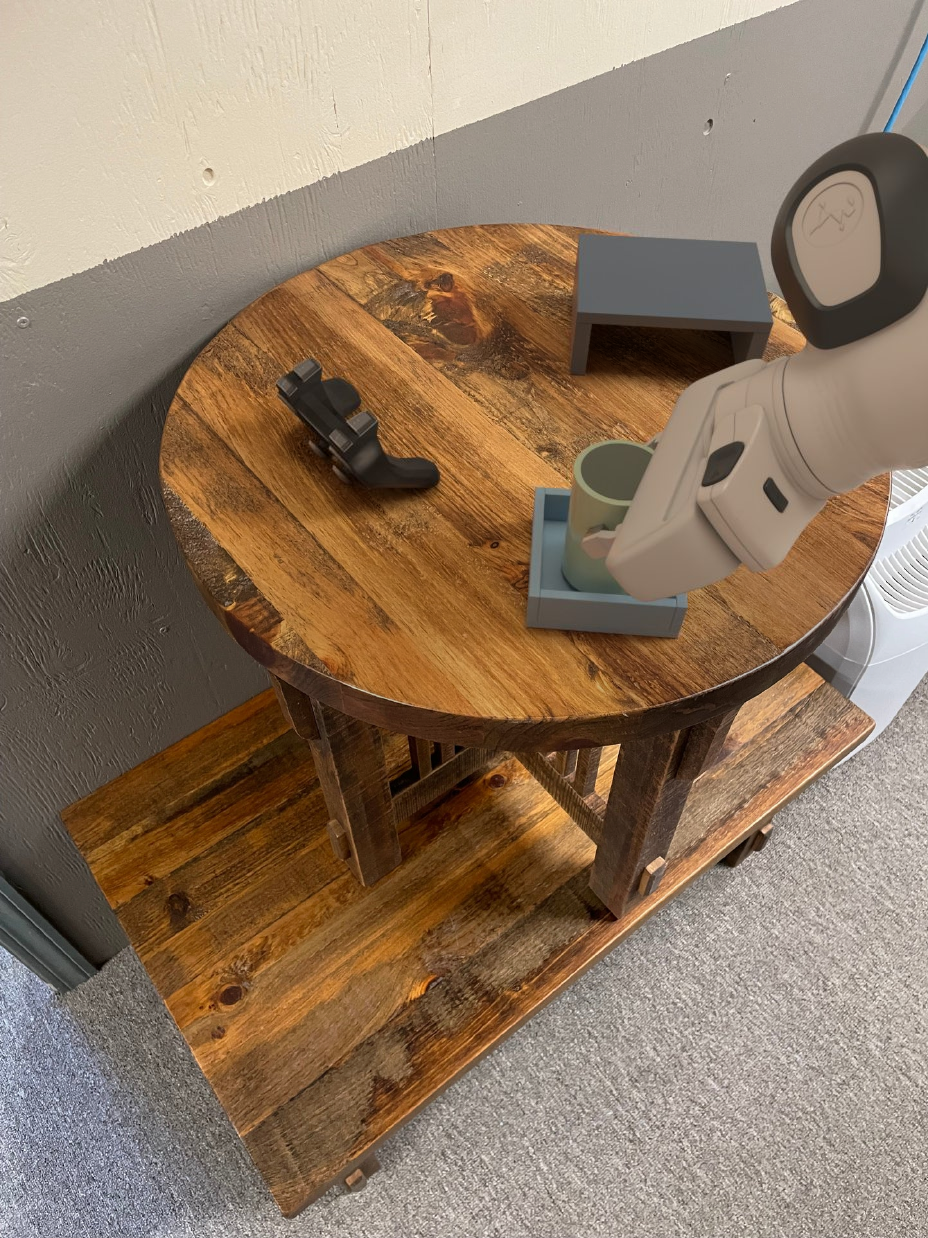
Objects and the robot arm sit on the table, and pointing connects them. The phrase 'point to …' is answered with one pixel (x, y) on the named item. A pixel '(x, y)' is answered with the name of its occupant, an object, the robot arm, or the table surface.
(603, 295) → the shelf
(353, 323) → the table surface
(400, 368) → the table surface
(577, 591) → the open bin
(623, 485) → the cup
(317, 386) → the game controller
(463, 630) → the table surface
